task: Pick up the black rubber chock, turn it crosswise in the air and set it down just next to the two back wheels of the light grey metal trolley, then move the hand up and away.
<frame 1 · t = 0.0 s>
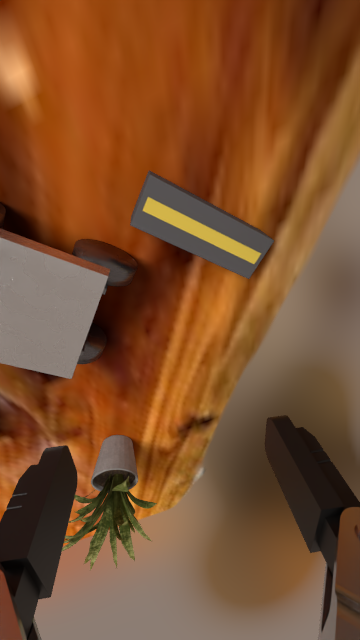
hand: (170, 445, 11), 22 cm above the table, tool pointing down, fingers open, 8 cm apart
house plant: (115, 438, 47), on the table
chock: (198, 222, 29), on the table
trolley: (38, 272, 29), on the table
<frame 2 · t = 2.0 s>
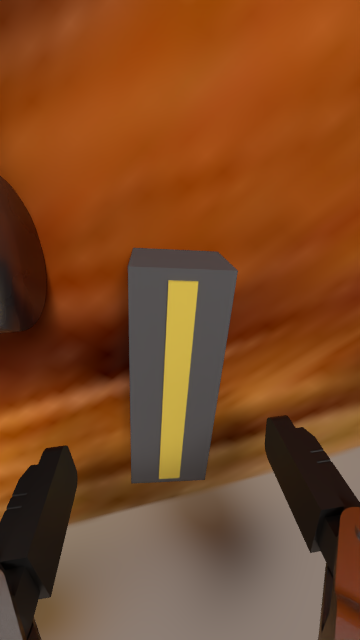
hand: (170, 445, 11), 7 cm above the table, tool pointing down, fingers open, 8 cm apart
chock: (169, 353, 17), on the table
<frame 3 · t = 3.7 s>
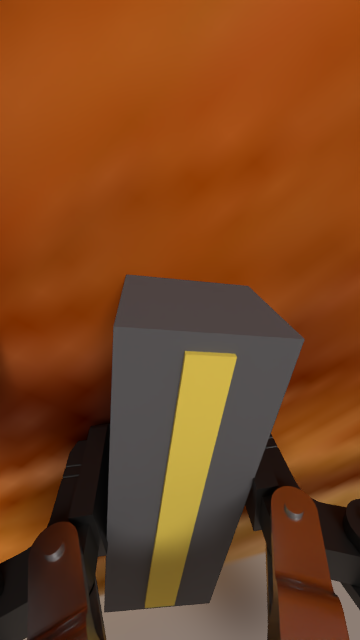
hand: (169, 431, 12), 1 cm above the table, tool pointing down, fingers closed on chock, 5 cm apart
chock: (168, 418, 12), on the table, touching gripper
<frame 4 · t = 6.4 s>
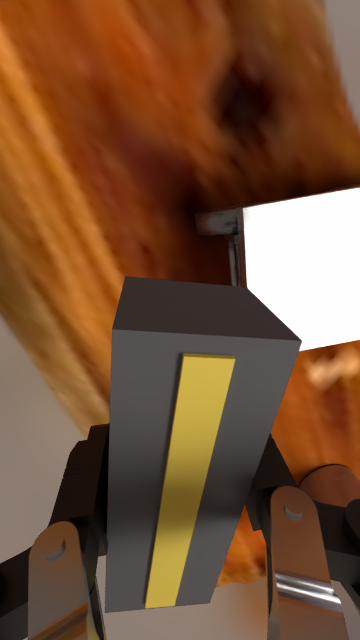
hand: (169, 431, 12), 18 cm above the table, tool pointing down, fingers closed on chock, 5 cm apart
chock: (168, 419, 12), point 17 cm above the table, touching gripper
trolley: (284, 257, 28), on the table
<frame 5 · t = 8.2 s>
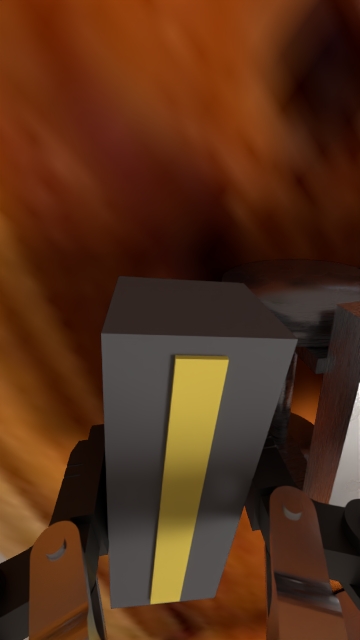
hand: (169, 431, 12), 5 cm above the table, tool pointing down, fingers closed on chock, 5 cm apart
chock: (168, 417, 12), point 4 cm above the table, touching gripper
trolley: (354, 343, 17), on the table
when the fingers open (2 cm above the table, at t = 9.5 s): chock drops 2 cm, on the table.
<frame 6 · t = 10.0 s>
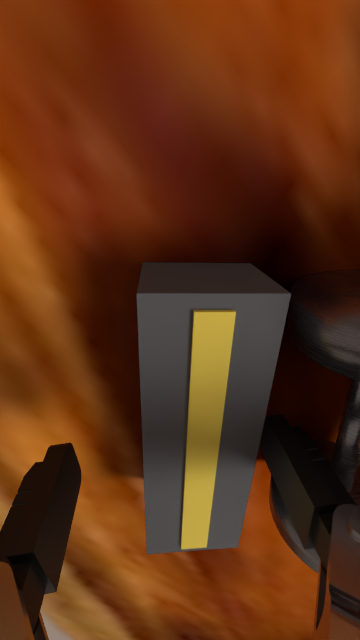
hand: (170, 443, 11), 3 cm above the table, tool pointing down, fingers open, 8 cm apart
chock: (189, 387, 14), on the table
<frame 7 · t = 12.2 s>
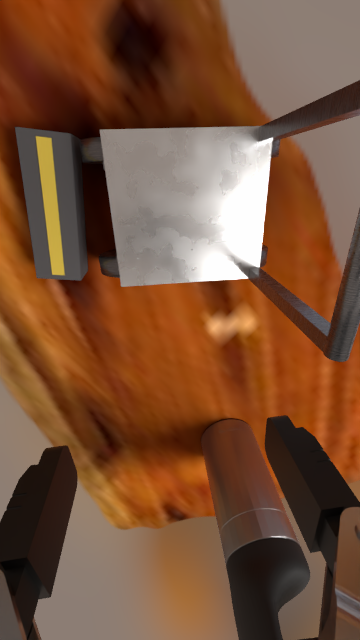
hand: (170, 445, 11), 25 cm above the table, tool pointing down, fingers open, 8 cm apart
chock: (63, 209, 29), on the table
trolley: (180, 205, 30), on the table
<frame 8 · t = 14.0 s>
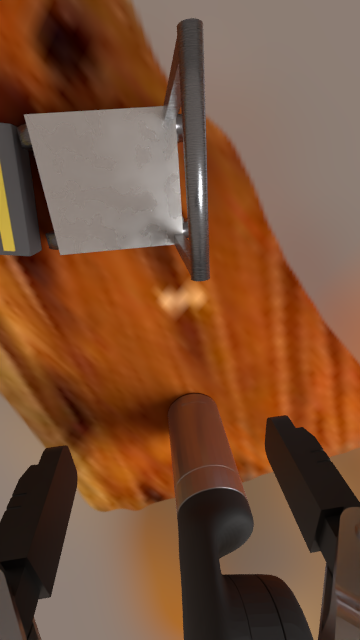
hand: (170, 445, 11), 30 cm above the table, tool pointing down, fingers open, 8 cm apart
chock: (15, 194, 33), on the table
trolley: (120, 187, 34), on the table
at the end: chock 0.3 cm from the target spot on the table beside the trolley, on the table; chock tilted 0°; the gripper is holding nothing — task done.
